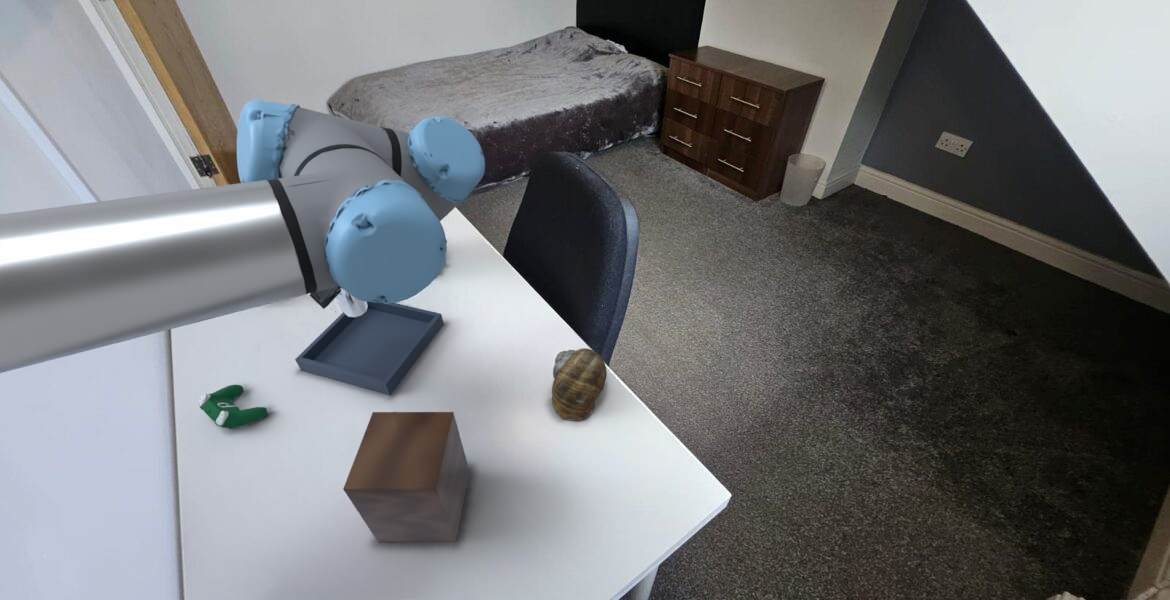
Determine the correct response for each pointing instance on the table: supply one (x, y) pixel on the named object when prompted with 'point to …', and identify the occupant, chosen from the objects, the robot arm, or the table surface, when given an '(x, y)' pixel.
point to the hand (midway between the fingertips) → (333, 290)
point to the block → (410, 477)
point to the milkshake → (351, 304)
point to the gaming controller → (229, 408)
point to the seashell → (577, 382)
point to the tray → (372, 346)
